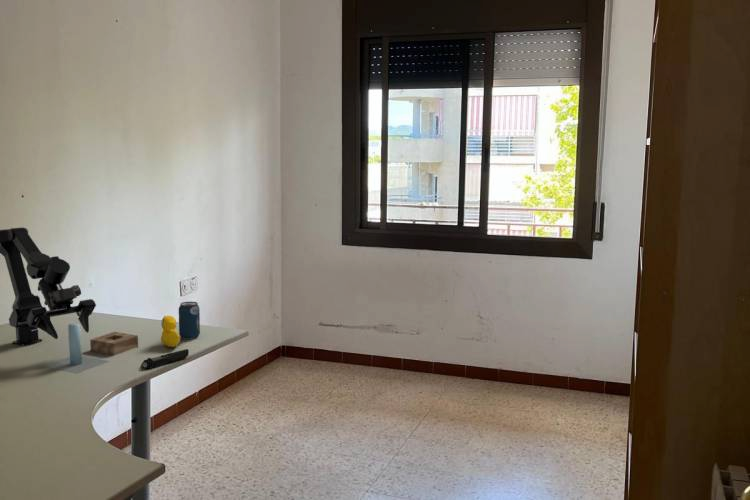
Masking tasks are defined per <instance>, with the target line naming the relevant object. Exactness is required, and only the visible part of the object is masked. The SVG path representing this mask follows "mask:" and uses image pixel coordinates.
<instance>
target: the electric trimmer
mask: <svg viewBox="0 0 750 500" xmlns="http://www.w3.org/2000/svg"><path fill="white" fill-rule="evenodd" d="M189 354H190V353H189V349H188V348H186V349H185V348H184V349H182V350H178V351H174V352H170V353H167V354H162V355H159V356H156V357H148V358H146V359H144V360H143V361H142V362H141V364H140V368H141V369H142V370H145V371H147V370H151V369H152V368H155V367H157V366H161V365H165V364H168V363H169V364H171V363H175V362H178V361H180V360H182V359H185V358H187V357H188V356H189Z"/></svg>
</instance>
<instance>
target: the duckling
mask: <svg viewBox="0 0 750 500" xmlns="http://www.w3.org/2000/svg"><path fill="white" fill-rule="evenodd" d="M176 327H177V320H176V318H175V317H174V316H173V315H164V316H163V318H162V319H161V329H162V330H163V331H162V333H161V336H160V342H161V344H162V345H163V346H166V347H168V348H174V347H177V346H178V345H179V343H180V341H181V336H180V335H179V332H178V331H177V330H176Z"/></svg>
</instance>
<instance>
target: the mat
mask: <svg viewBox="0 0 750 500" xmlns="http://www.w3.org/2000/svg"><path fill="white" fill-rule="evenodd" d="M109 362H110V360H104V359H100V358H95V357H91V356H84V355H82V364H80V365H70V356H67V357H65V358H62V359H59V360H56V361H52V362H50V363H47V364H44V365H42V367H43V368H49V369H54V370H58V371H63V372H68V373H72V374H79V373H80V374H81V373H82V372H85V371H87V370H91V369H93V368H95V367H99V366H101V365H104V364H107V363H109Z"/></svg>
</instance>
